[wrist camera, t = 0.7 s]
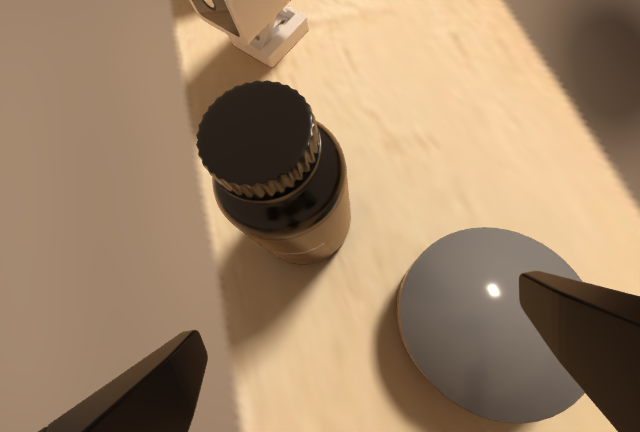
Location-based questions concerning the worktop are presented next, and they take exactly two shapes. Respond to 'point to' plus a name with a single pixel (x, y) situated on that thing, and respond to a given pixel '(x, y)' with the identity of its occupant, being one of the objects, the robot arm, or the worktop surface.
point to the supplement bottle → (276, 171)
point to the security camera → (256, 25)
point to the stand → (483, 326)
